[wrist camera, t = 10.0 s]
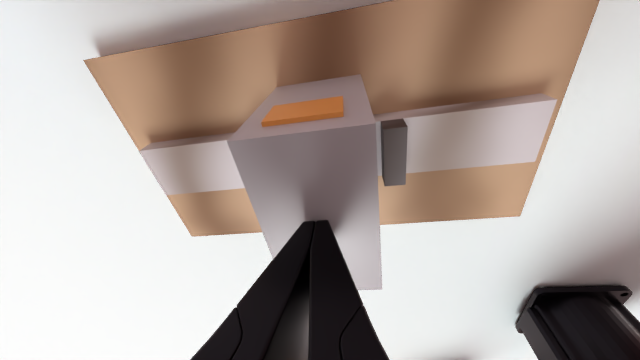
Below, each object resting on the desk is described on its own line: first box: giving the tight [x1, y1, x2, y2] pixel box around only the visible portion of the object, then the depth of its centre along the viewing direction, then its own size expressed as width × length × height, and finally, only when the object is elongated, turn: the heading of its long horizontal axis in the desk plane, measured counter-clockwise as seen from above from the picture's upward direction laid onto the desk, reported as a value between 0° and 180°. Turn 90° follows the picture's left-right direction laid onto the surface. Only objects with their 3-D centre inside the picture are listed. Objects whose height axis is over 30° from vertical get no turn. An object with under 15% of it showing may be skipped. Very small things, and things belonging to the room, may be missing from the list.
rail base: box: [83, 0, 599, 236], centre depth 13 cm, size 22×12×3 cm, turn 99°
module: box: [227, 74, 382, 290], centre depth 11 cm, size 4×7×6 cm, turn 9°
